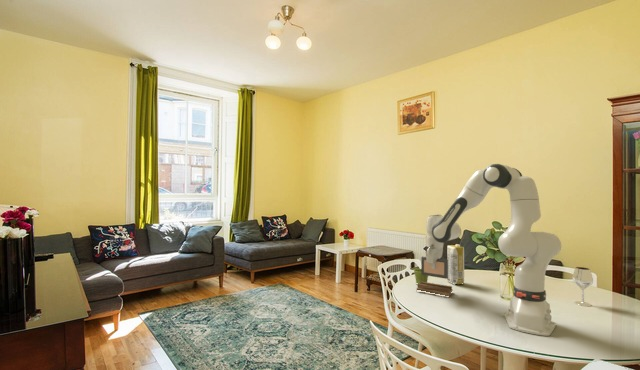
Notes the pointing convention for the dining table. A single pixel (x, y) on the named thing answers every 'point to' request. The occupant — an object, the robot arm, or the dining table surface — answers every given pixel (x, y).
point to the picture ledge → (435, 288)
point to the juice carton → (455, 264)
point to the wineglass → (582, 281)
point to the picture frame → (439, 270)
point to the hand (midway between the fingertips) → (434, 268)
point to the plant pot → (420, 276)
